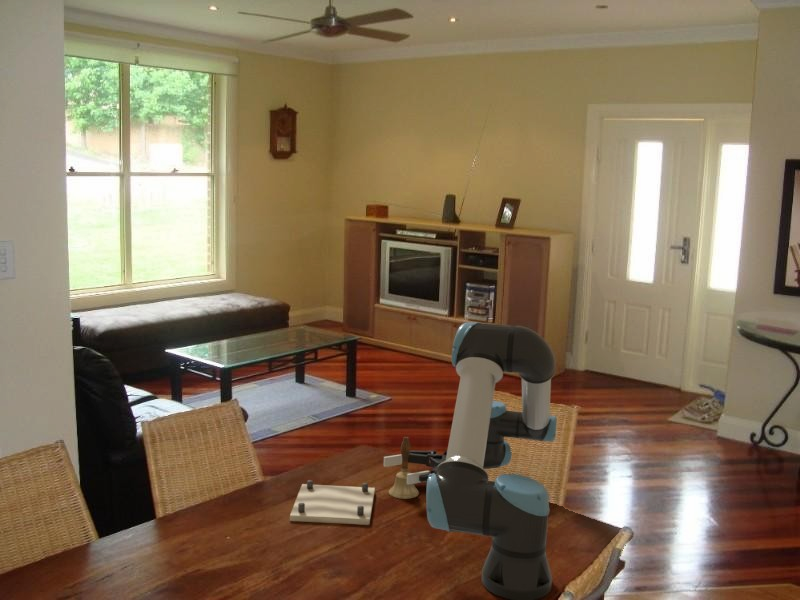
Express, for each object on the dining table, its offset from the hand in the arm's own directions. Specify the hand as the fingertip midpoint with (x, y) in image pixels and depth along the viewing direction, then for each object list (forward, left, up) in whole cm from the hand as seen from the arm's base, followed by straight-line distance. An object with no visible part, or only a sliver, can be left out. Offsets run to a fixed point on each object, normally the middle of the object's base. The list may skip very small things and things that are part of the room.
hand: (395, 470), depth 221 cm
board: (-10, +15, -7) cm, 19 cm away
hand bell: (+1, -3, -7) cm, 8 cm away
